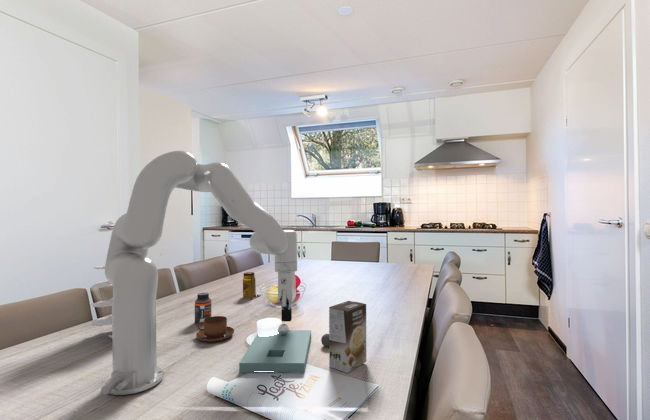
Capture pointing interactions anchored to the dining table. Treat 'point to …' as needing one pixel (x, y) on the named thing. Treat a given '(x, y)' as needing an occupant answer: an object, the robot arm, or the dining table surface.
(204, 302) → the supplement bottle
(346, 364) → the coffee box
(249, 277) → the condiment
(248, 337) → the dining table surface
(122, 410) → the dining table surface
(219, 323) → the cup and saucer
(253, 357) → the grey-green flat board
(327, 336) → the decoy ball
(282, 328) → the ball
